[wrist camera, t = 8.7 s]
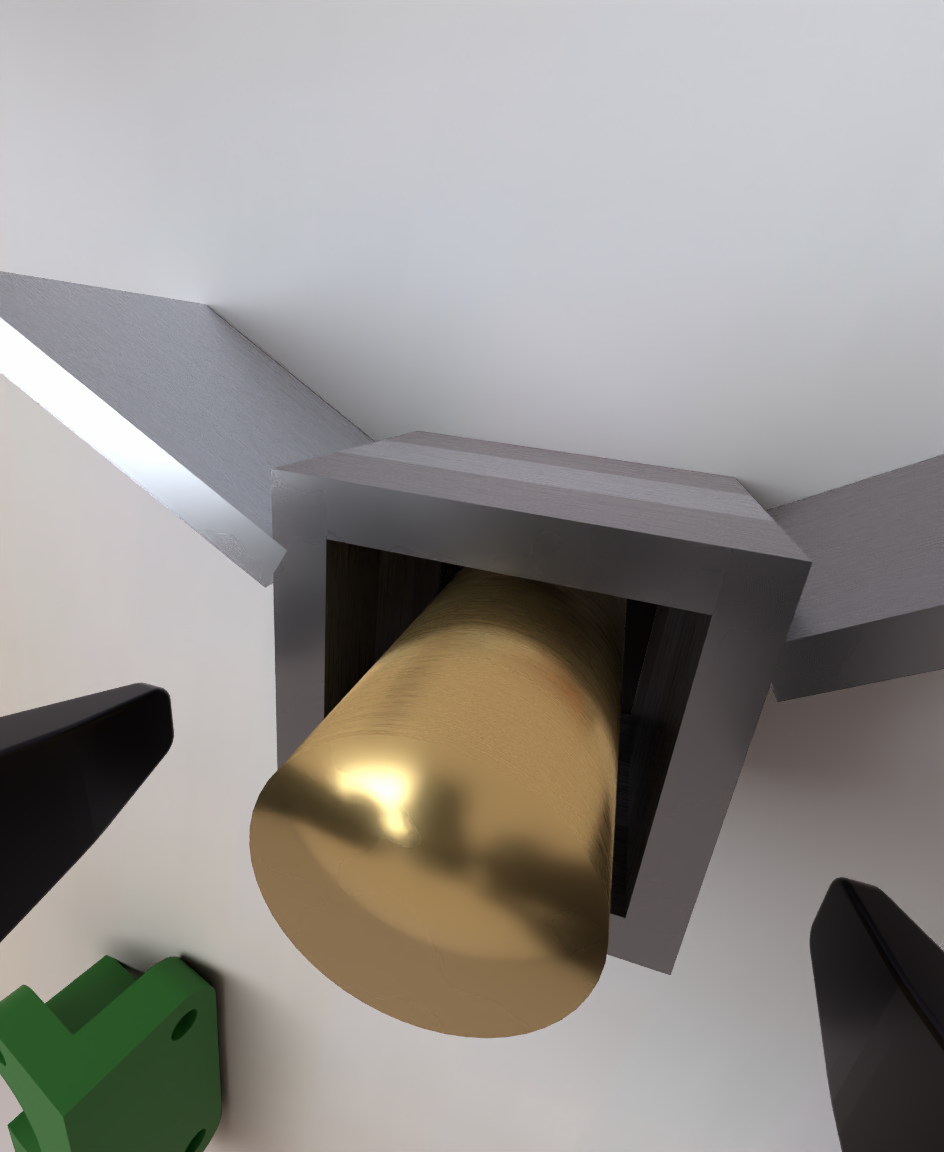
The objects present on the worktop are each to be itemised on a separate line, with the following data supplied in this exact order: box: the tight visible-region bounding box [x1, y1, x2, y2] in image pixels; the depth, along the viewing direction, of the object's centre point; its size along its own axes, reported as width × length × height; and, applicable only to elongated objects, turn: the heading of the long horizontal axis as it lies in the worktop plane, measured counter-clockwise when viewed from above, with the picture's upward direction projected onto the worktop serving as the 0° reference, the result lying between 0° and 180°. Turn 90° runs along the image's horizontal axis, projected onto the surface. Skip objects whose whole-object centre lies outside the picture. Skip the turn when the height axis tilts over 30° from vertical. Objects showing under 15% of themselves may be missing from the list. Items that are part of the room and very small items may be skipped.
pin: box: [249, 566, 627, 1038], centre depth 10 cm, size 4×4×9 cm
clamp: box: [0, 955, 222, 1152], centre depth 24 cm, size 12×6×9 cm, turn 166°
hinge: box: [0, 271, 944, 975], centre depth 11 cm, size 20×10×6 cm, turn 84°
